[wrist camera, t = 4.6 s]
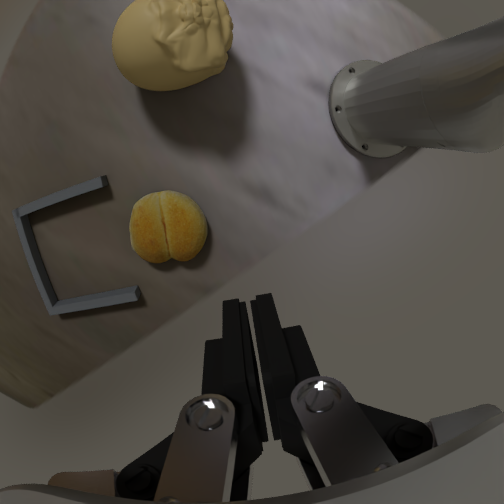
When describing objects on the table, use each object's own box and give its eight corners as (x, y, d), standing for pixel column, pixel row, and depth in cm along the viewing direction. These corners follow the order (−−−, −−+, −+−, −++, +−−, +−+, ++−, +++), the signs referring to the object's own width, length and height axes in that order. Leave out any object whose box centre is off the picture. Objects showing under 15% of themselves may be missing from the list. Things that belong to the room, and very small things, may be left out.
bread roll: (209, 255, 35) (209, 268, 32) (138, 259, 34) (129, 272, 31) (205, 186, 33) (204, 191, 29) (129, 192, 32) (119, 198, 28)
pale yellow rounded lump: (237, 87, 29) (247, 58, 19) (132, 108, 28) (96, 92, 18) (224, 5, 25) (228, -44, 15) (125, 25, 24) (94, -13, 14)
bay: (106, 175, 30) (100, 176, 29) (140, 293, 36) (137, 300, 34) (19, 207, 30) (11, 210, 28) (55, 309, 35) (50, 315, 33)
